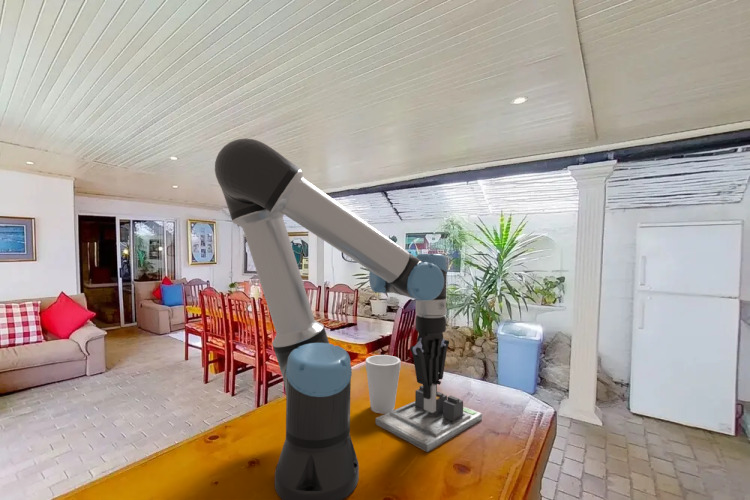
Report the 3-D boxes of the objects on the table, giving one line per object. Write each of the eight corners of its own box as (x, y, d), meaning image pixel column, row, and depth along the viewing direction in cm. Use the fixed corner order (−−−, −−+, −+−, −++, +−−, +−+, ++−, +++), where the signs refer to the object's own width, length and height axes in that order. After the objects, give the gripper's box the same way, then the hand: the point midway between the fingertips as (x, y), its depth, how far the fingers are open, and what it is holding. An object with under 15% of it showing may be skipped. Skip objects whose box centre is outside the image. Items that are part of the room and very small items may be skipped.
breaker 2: (436, 416, 85) (436, 397, 85) (426, 412, 87) (427, 393, 87) (446, 411, 88) (447, 392, 88) (437, 407, 90) (437, 389, 90)
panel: (427, 452, 72) (427, 442, 72) (375, 424, 84) (375, 415, 84) (481, 419, 87) (482, 411, 87) (431, 399, 99) (431, 392, 99)
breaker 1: (424, 409, 89) (424, 390, 89) (415, 405, 91) (415, 387, 91) (433, 405, 91) (433, 387, 92) (424, 401, 94) (425, 383, 94)
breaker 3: (453, 422, 82) (453, 402, 82) (443, 417, 84) (443, 398, 84) (463, 417, 85) (463, 397, 85) (452, 412, 87) (452, 393, 87)
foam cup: (400, 402, 97) (401, 355, 97) (399, 417, 88) (400, 366, 88) (367, 400, 98) (367, 354, 98) (362, 415, 89) (363, 364, 89)
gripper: (426, 320, 79) (425, 424, 78) (458, 314, 88) (457, 407, 87) (402, 316, 84) (401, 412, 84) (434, 310, 93) (433, 398, 93)
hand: (429, 410), depth 86 cm, fingers closed
